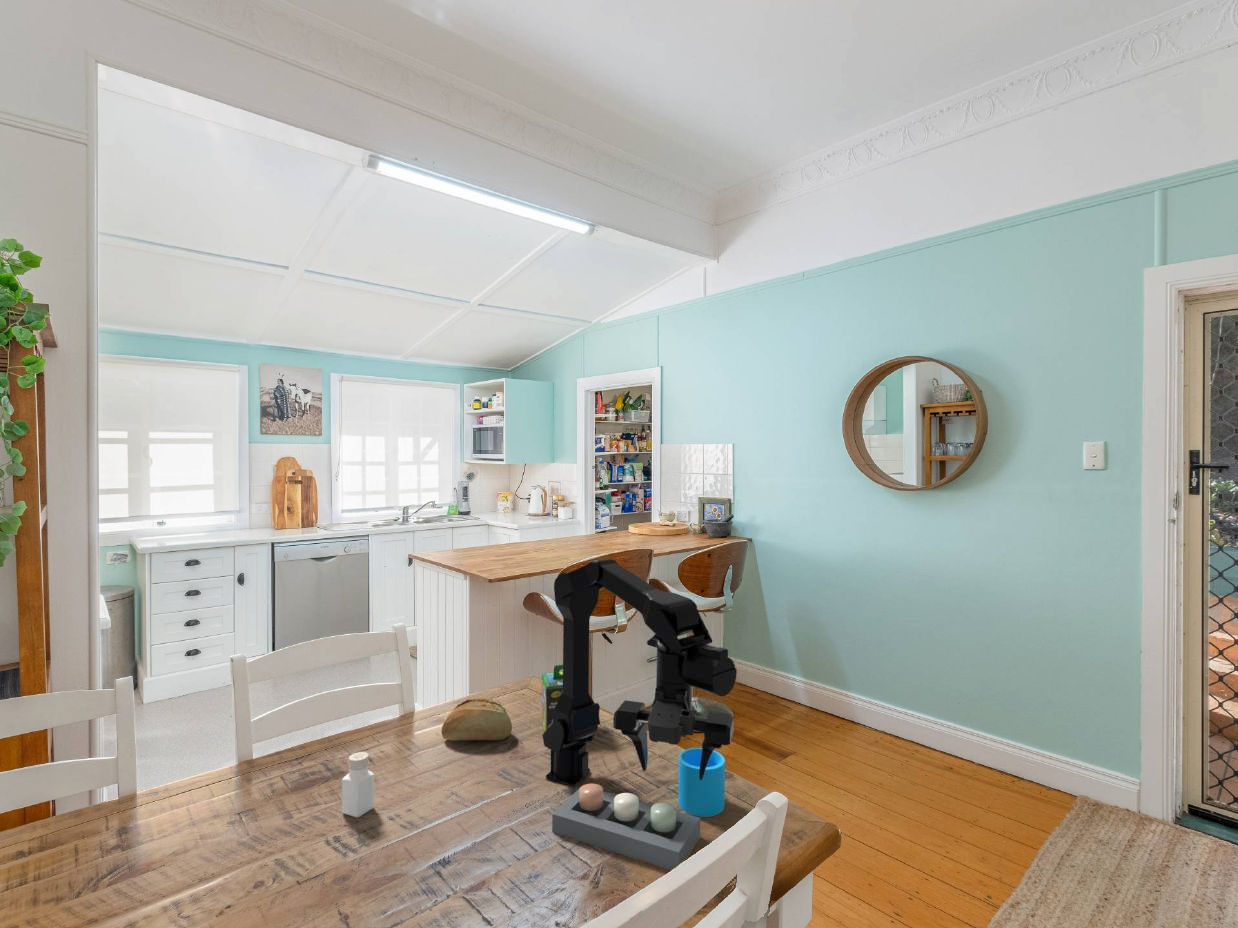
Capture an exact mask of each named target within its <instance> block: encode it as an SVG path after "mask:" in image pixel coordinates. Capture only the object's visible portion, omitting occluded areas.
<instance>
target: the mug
mask: <svg viewBox="0 0 1238 928" xmlns="http://www.w3.org/2000/svg"><path fill="white" fill-rule="evenodd" d="M678 755H679V756H678V795H677V796H678V799H677V801H678V802H677V803H678V806H679V807H680V809H681V810H682V811H684V813H685V814H688V815H691V816H695V817H699V818H702V817H705V818H708V817H709V818H710V817H714V816H718V815H719V814H721V813H722V812H723V811H724V809H725V800H726V799H725V797H726V796H725V794H726V791H725V790H726V788H725V787H726V786H725V785H726V784H725V783H726V759H725V757H724V756H723V754H721V752H719V751H716V750H715V749H714V750H713V752H712V754H711V756H710V758H709V760H708V763H707V766H706V769H705V772H704V775H703V778H702V780H699V770H700V762H701V755H702V747H691V748H688V749H685V750H682V751H681V752H680V753H679V754H678Z"/></svg>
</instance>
